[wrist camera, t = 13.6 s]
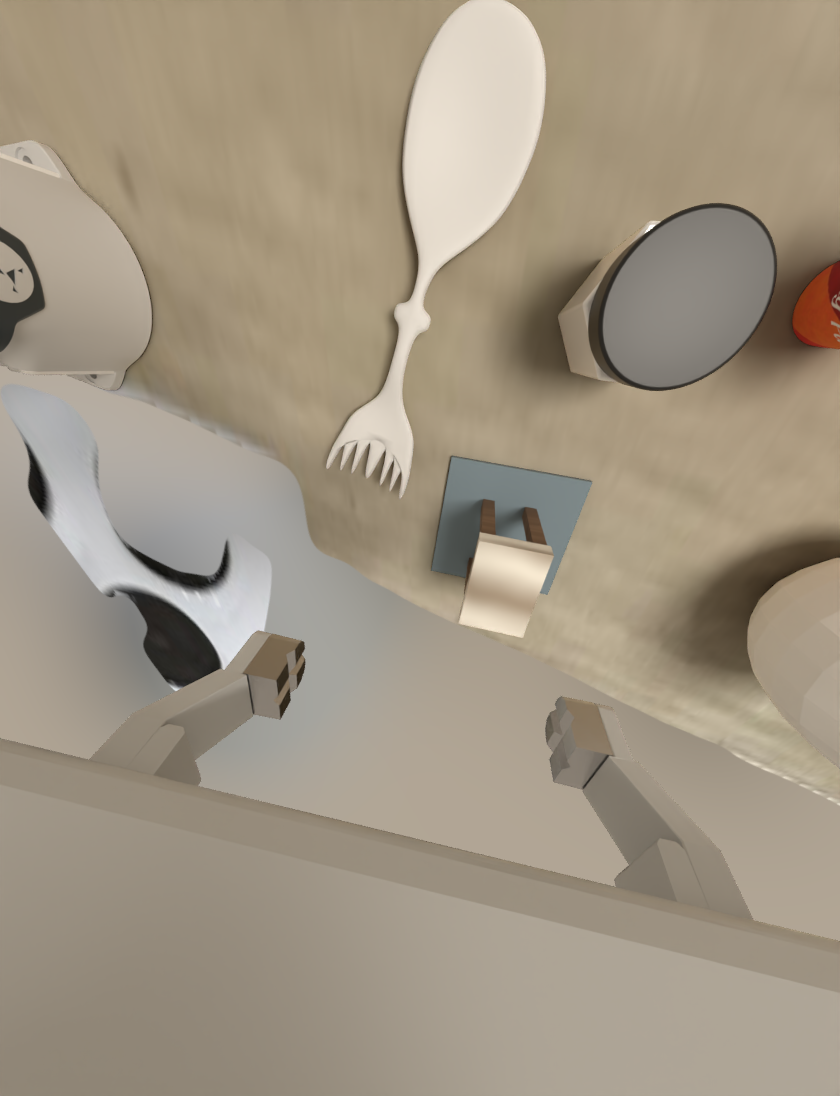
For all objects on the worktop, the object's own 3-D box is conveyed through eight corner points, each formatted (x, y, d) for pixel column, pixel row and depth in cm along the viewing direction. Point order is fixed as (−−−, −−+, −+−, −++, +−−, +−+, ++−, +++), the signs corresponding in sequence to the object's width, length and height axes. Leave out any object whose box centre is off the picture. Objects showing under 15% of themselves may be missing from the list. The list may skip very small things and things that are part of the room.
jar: (678, 355, 29) (782, 359, 19) (574, 397, 32) (615, 421, 21) (663, 227, 26) (780, 144, 15) (548, 287, 28) (581, 251, 18)
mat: (431, 568, 43) (431, 570, 43) (452, 455, 36) (451, 456, 36) (546, 592, 42) (547, 594, 42) (591, 480, 35) (592, 482, 35)
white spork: (333, 460, 39) (320, 469, 36) (440, 1, 23) (433, -51, 20) (409, 491, 39) (402, 503, 36) (569, 61, 23) (581, 18, 20)
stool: (481, 496, 37) (479, 540, 29) (539, 507, 37) (553, 555, 28) (465, 567, 42) (458, 623, 33) (515, 577, 41) (522, 637, 33)
